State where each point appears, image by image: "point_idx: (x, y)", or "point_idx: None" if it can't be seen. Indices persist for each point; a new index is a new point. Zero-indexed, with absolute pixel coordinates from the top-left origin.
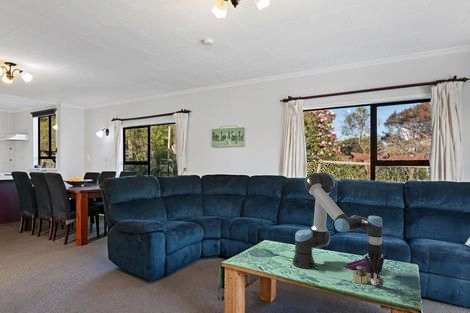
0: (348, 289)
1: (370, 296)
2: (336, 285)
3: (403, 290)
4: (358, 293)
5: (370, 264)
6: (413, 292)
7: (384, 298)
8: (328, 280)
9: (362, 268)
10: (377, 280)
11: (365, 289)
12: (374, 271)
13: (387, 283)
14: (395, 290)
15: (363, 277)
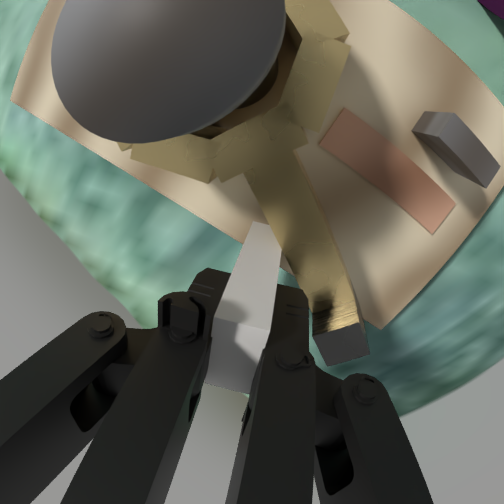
0: (47, 180)
1: (140, 316)
2: (13, 105)
3: (468, 335)
4: (82, 255)
5: (84, 480)
6: (481, 365)
7: None
8: (14, 25)
9: (134, 68)
10: (308, 293)
11: (169, 220)
12: (257, 368)
13: (495, 202)
14: (423, 322)
15: (157, 164)
